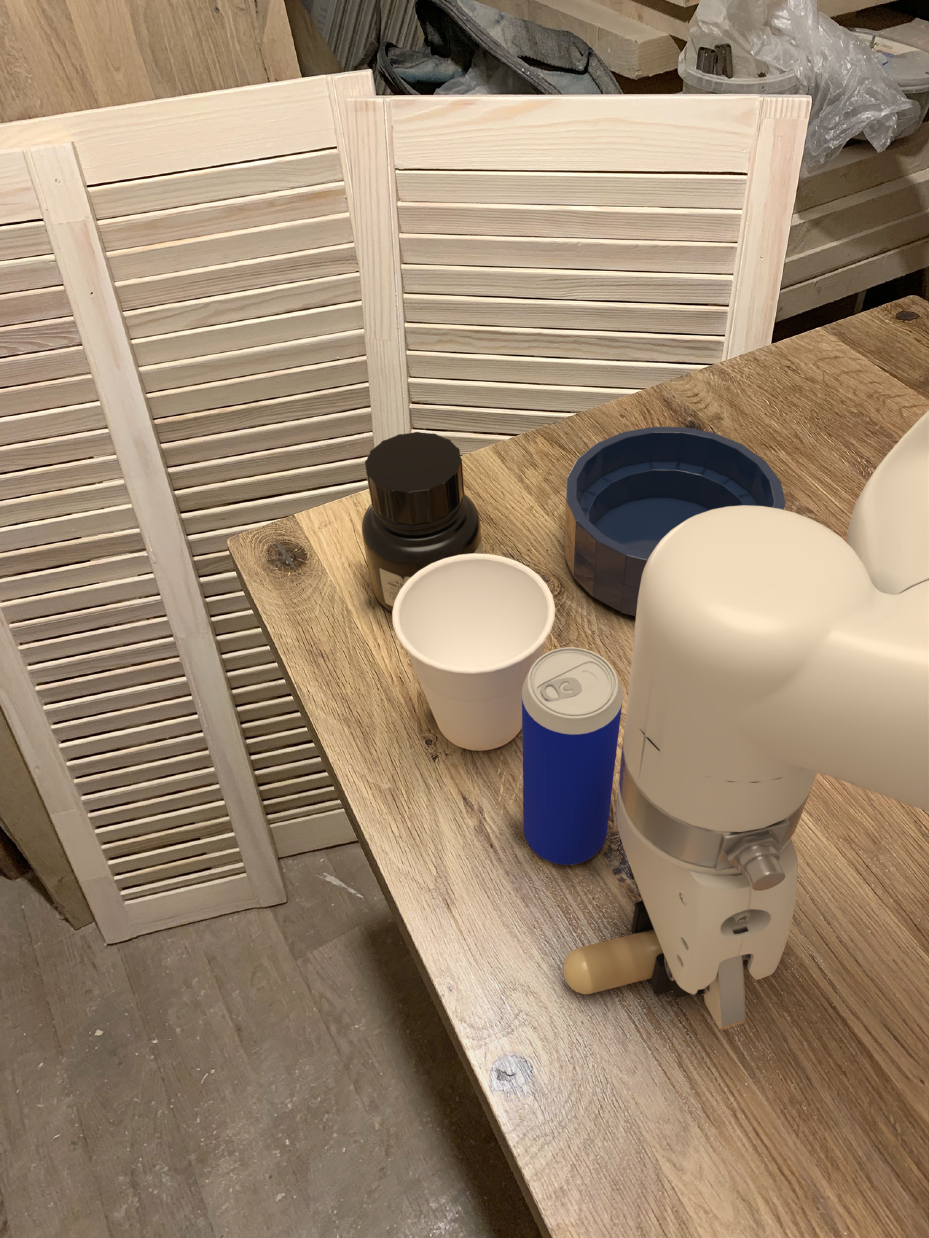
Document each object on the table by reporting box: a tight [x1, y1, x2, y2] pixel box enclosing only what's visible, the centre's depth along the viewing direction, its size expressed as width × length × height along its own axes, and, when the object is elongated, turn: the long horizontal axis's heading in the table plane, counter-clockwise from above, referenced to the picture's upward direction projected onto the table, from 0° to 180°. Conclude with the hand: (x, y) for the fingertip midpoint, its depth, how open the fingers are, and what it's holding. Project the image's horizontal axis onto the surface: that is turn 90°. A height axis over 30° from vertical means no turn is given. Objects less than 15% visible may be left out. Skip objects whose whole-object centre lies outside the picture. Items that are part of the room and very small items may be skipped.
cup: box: [391, 553, 556, 752], centre depth 60 cm, size 10×10×11 cm
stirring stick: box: [562, 929, 663, 995], centre depth 51 cm, size 12×2×2 cm, turn 103°
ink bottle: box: [361, 431, 484, 613], centre depth 69 cm, size 10×9×12 cm
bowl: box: [563, 426, 786, 617], centre depth 72 cm, size 16×16×6 cm
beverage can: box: [521, 646, 624, 866], centre depth 52 cm, size 5×5×15 cm
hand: (668, 956), depth 52 cm, fingers closed on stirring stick, 2 cm apart
